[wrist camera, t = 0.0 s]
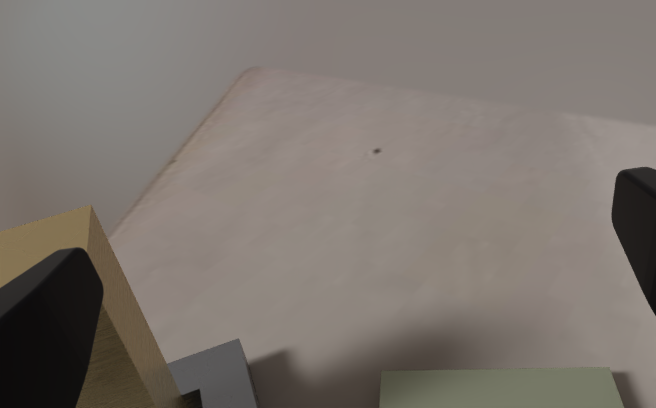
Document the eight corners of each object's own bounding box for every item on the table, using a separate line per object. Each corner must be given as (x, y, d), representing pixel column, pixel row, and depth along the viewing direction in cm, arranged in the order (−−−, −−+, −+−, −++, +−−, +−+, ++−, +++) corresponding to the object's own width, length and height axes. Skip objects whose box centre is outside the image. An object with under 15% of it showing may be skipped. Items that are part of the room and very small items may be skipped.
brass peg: (210, 511, 23) (85, 270, 16) (113, 551, 22) (-62, 317, 15) (199, 432, 26) (91, 204, 19) (114, 465, 26) (-30, 240, 19)
